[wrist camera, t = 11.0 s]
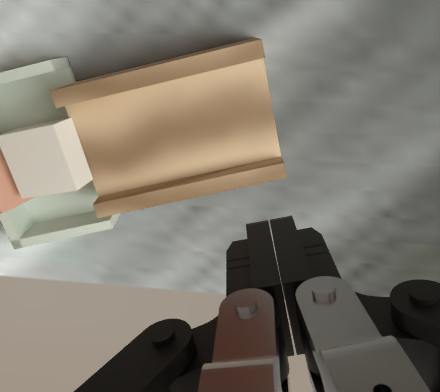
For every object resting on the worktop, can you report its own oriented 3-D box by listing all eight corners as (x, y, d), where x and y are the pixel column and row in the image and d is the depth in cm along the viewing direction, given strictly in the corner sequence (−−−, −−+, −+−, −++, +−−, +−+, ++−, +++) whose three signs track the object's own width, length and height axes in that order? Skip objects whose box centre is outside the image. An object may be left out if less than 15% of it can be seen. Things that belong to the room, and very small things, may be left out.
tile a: (17, 128, 32) (-5, 136, 30) (71, 117, 31) (53, 124, 28) (40, 187, 34) (21, 198, 32) (93, 179, 32) (77, 190, 30)
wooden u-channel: (76, 81, 34) (49, 91, 28) (255, 37, 32) (261, 39, 27) (115, 192, 37) (97, 218, 32) (277, 156, 36) (286, 177, 31)
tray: (-36, 82, 34) (-64, 88, 30) (67, 56, 33) (50, 59, 30) (31, 230, 39) (14, 249, 35) (121, 211, 38) (112, 228, 35)
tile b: (33, 129, 33) (21, 131, 34) (-29, 153, 30) (-40, 153, 31) (58, 185, 35) (45, 184, 36) (2, 213, 32) (-10, 210, 33)
